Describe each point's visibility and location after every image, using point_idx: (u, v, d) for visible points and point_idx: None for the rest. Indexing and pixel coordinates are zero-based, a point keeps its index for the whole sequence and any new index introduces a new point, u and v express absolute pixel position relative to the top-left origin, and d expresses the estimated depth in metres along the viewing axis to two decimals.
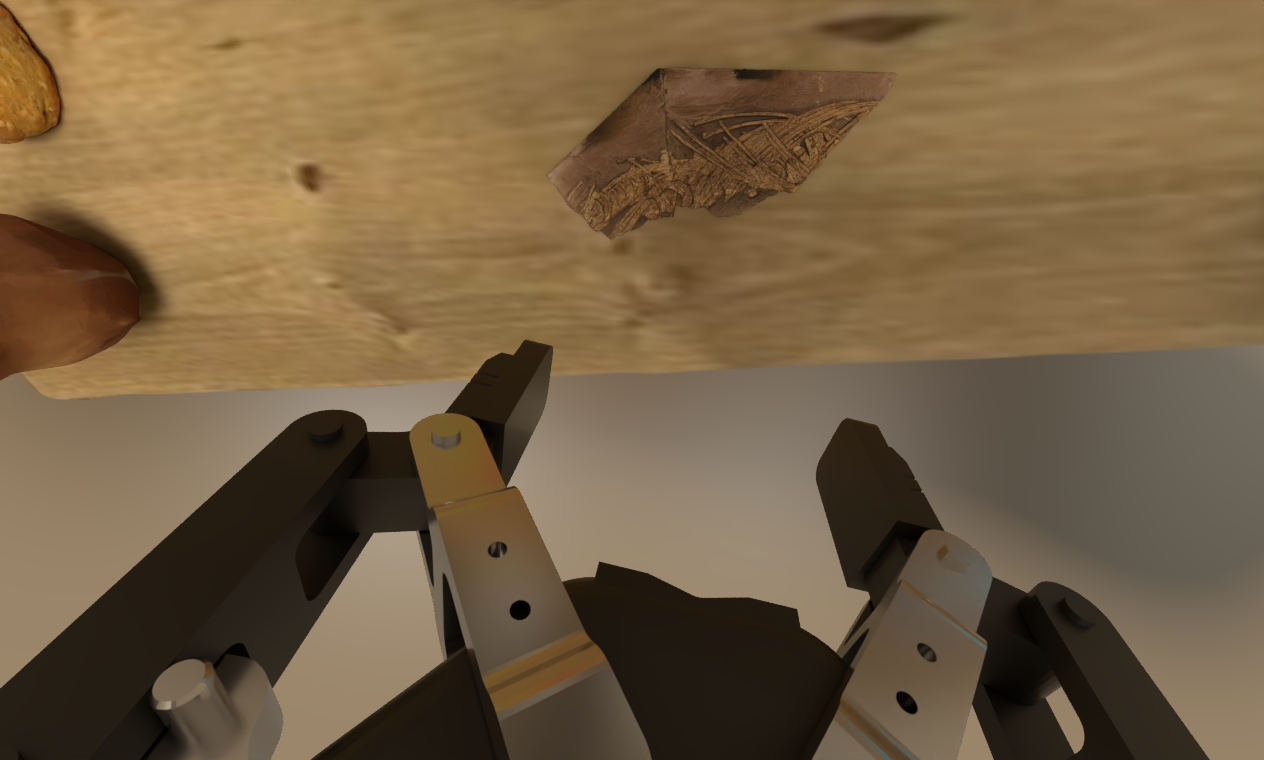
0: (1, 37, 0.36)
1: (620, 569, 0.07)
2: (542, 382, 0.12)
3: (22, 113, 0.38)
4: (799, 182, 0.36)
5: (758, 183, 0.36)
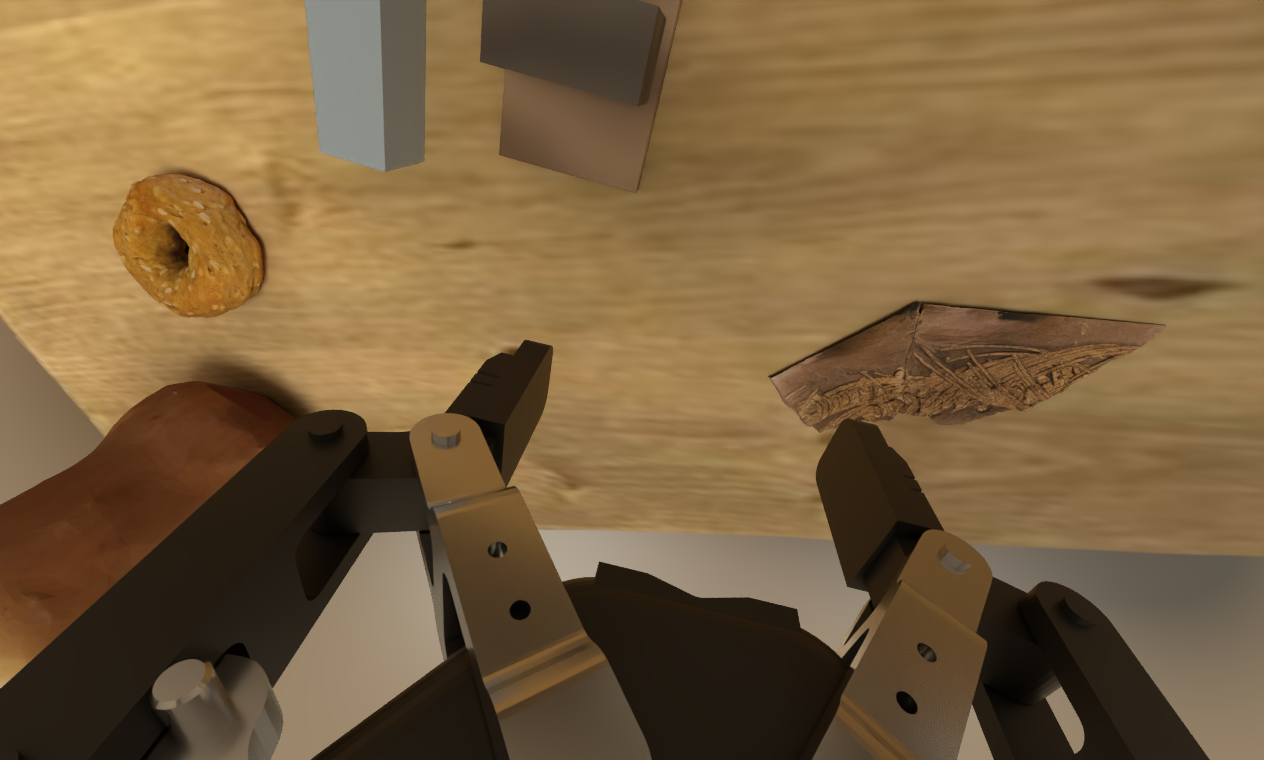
0: (227, 227, 0.35)
1: (620, 569, 0.07)
2: (542, 382, 0.12)
3: (235, 295, 0.37)
4: (1034, 403, 0.36)
5: (992, 401, 0.36)
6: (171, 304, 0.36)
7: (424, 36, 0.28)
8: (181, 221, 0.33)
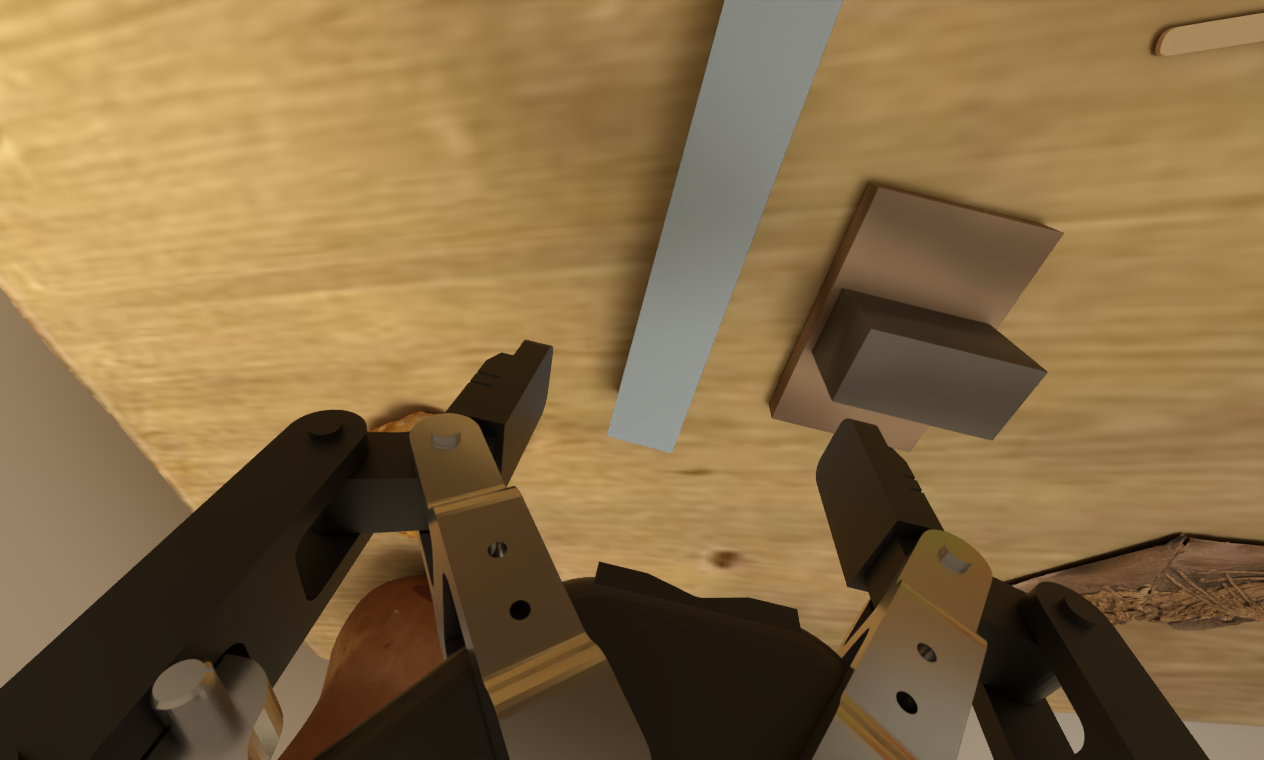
0: None
1: (620, 569, 0.07)
2: (542, 382, 0.12)
3: None
4: None
5: (1240, 615, 0.35)
6: (404, 531, 0.36)
7: None
8: None
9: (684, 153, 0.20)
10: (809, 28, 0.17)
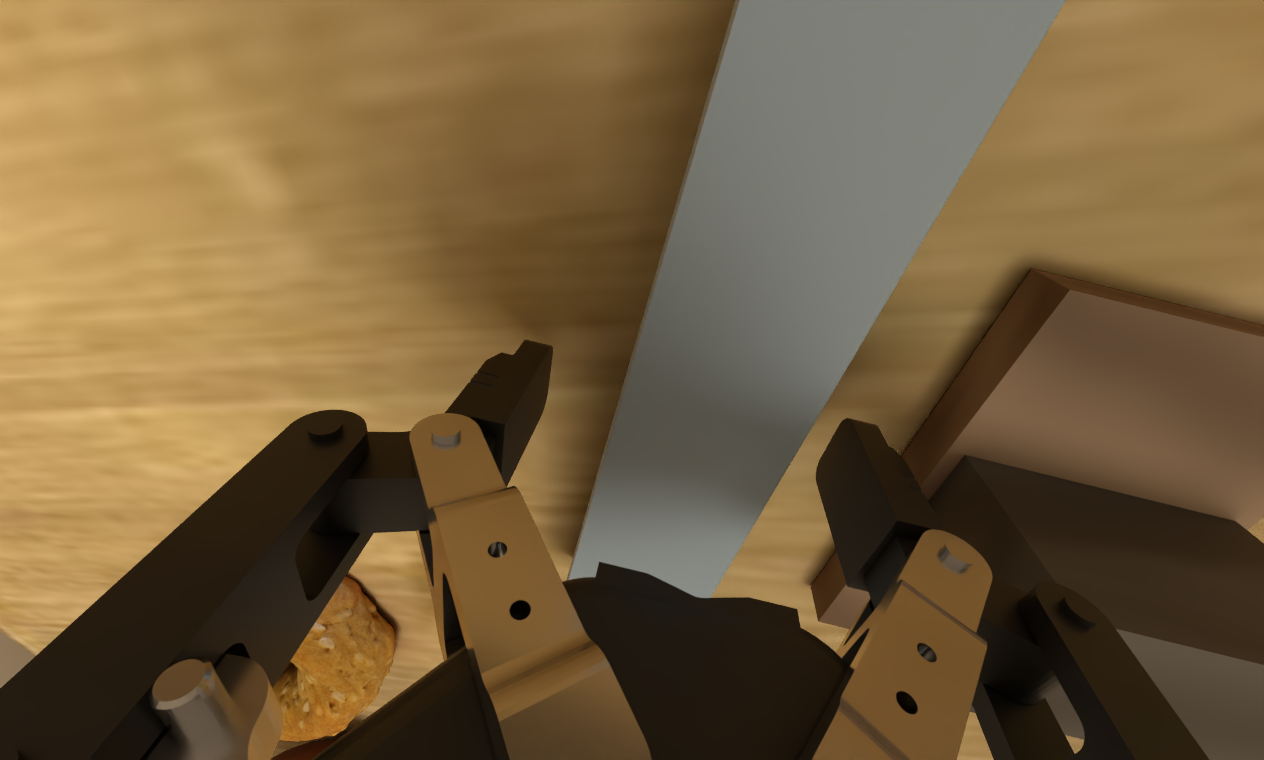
0: (356, 640, 0.23)
1: (620, 569, 0.07)
2: (542, 382, 0.12)
3: (362, 709, 0.25)
4: None
5: None
6: None
7: None
8: None
9: (671, 241, 0.08)
10: None
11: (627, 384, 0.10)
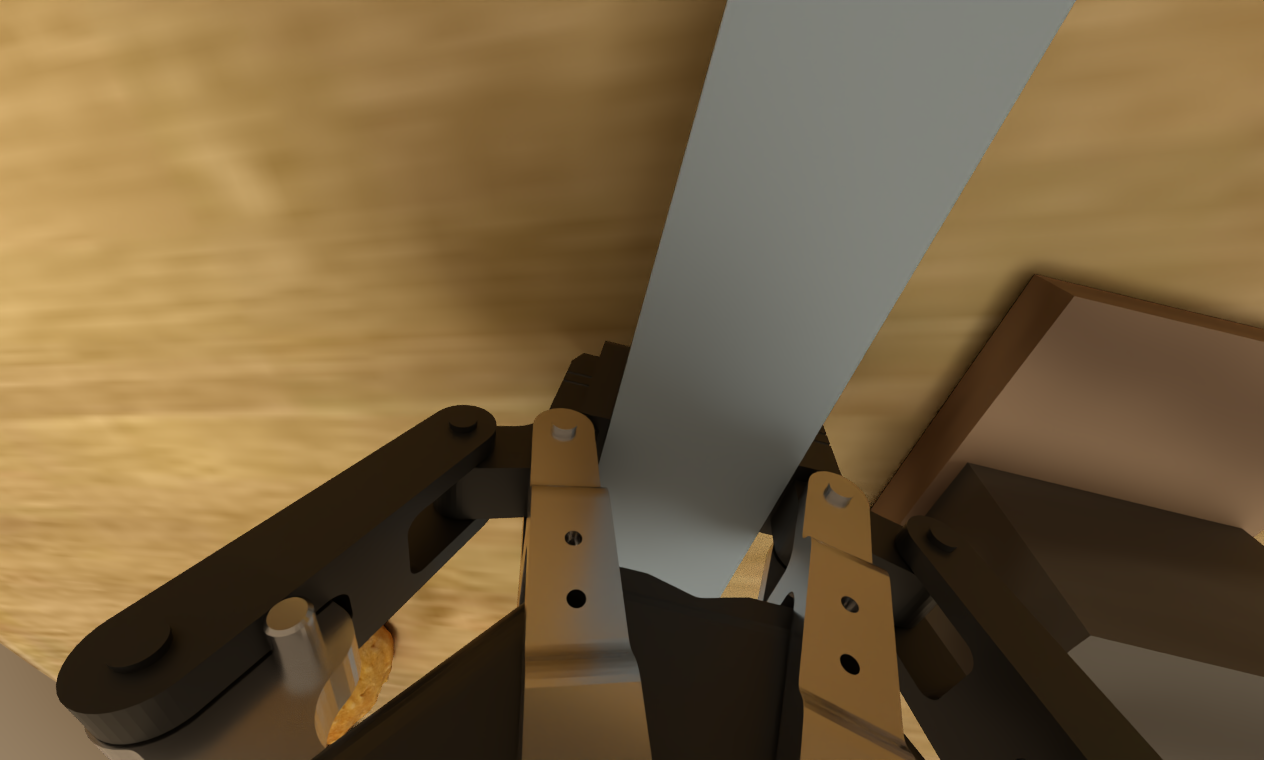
0: None
1: (620, 570, 0.07)
2: None
3: (360, 717, 0.25)
4: None
5: None
6: None
7: None
8: None
9: (659, 256, 0.08)
10: None
11: (616, 403, 0.10)
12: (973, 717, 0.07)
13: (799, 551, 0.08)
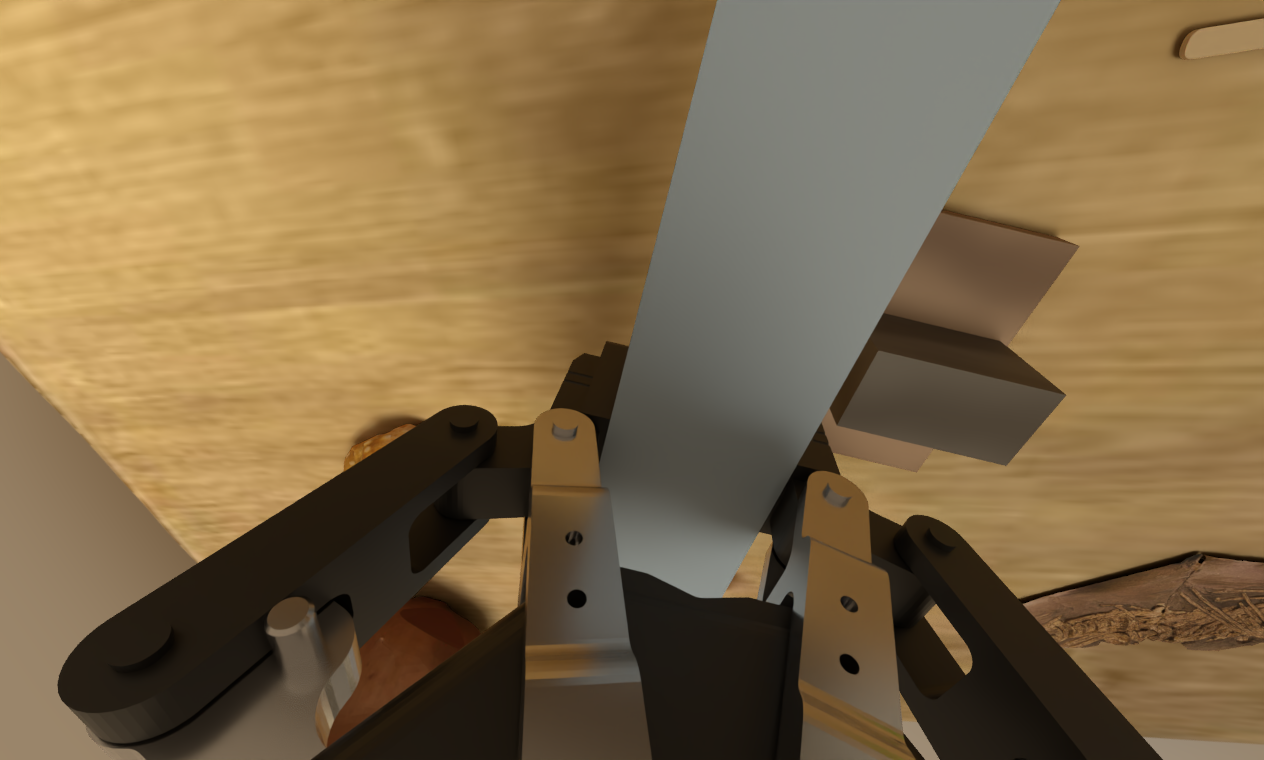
0: None
1: (620, 569, 0.07)
2: None
3: None
4: None
5: (1257, 635, 0.34)
6: None
7: None
8: None
9: (655, 255, 0.08)
10: None
11: (615, 402, 0.10)
12: (972, 717, 0.07)
13: (798, 551, 0.08)
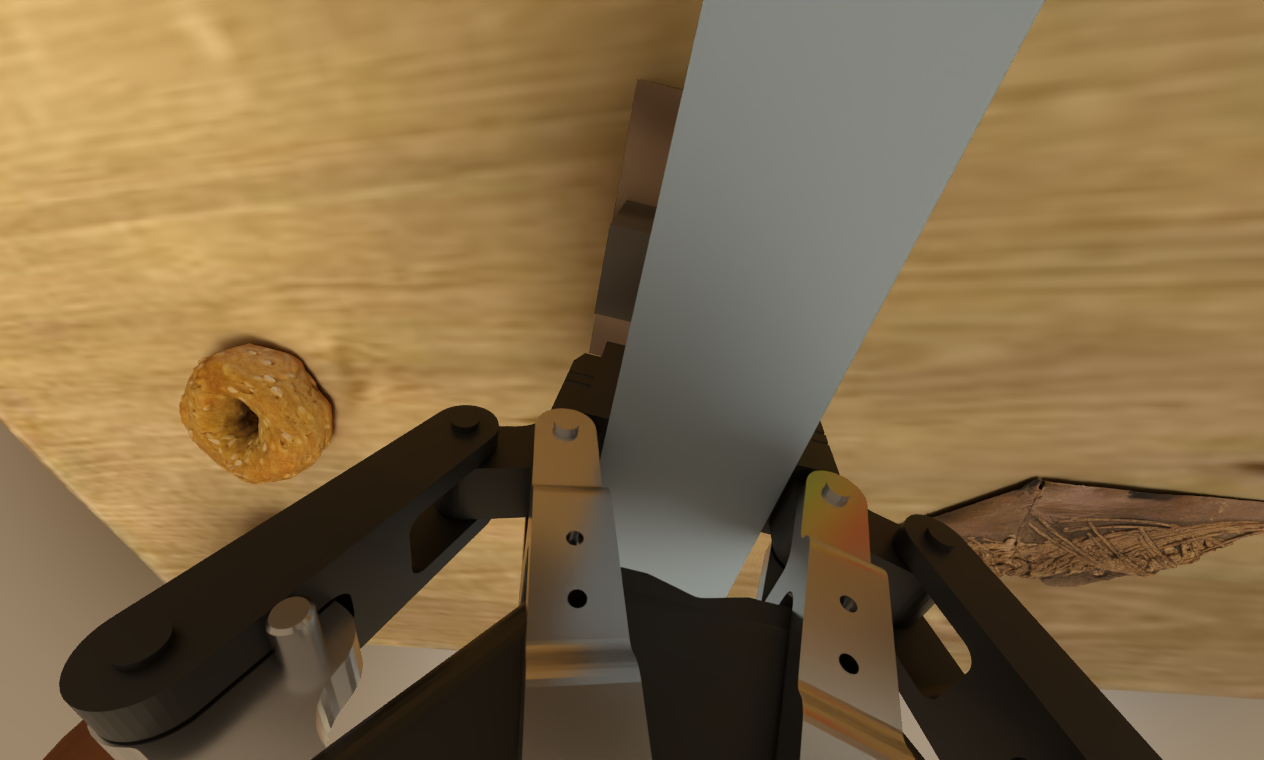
0: (299, 396, 0.32)
1: (620, 570, 0.07)
2: None
3: (307, 461, 0.34)
4: (1157, 571, 0.33)
5: (1110, 568, 0.33)
6: (241, 475, 0.34)
7: None
8: (253, 398, 0.31)
9: (649, 255, 0.08)
10: None
11: (613, 404, 0.10)
12: (971, 716, 0.07)
13: (797, 550, 0.08)
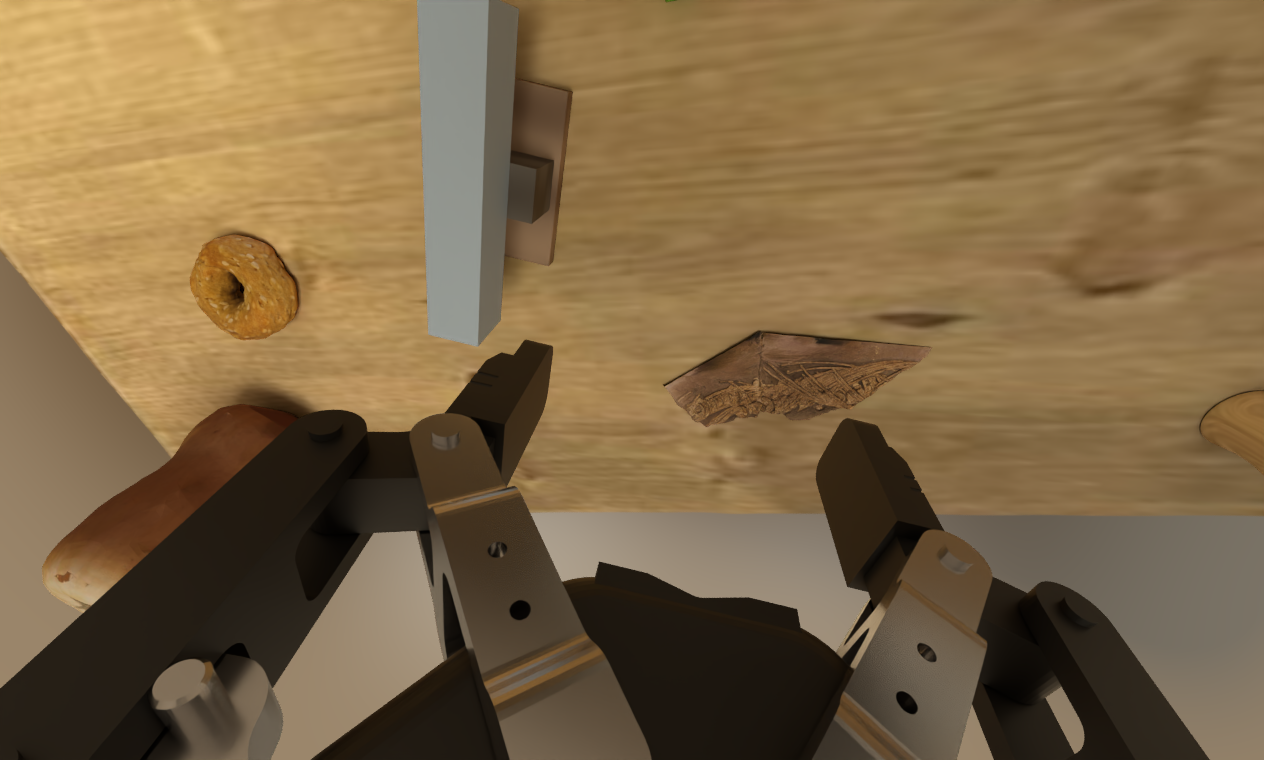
0: (271, 270, 0.47)
1: (620, 569, 0.07)
2: (542, 382, 0.12)
3: (278, 321, 0.49)
4: (855, 404, 0.49)
5: (825, 402, 0.49)
6: (232, 330, 0.48)
7: (503, 242, 0.37)
8: (239, 269, 0.46)
9: (421, 109, 0.29)
10: (473, 20, 0.26)
11: (423, 164, 0.30)
12: None
13: (889, 594, 0.08)
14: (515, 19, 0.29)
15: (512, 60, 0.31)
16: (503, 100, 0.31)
